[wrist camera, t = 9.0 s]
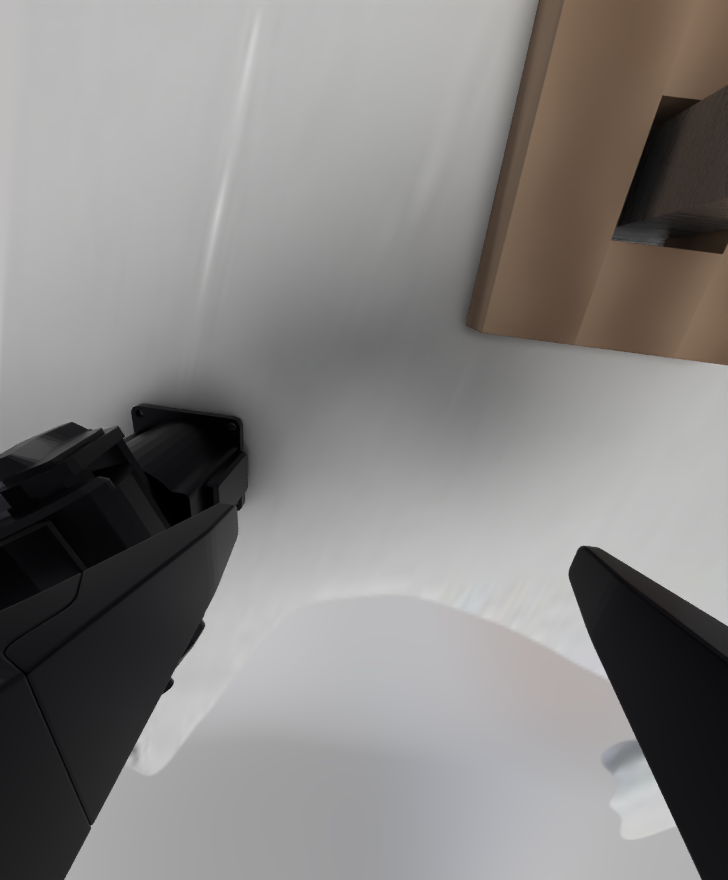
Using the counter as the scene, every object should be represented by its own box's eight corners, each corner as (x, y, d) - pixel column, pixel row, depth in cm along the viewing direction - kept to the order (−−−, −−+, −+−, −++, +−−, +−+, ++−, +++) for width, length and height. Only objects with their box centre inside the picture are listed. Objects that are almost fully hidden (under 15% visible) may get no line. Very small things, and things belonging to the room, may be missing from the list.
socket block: (465, 324, 18) (482, 333, 15) (540, -6, 13) (588, -100, 10) (699, 355, 18) (766, 370, 15) (861, 32, 13) (1014, -50, 10)
